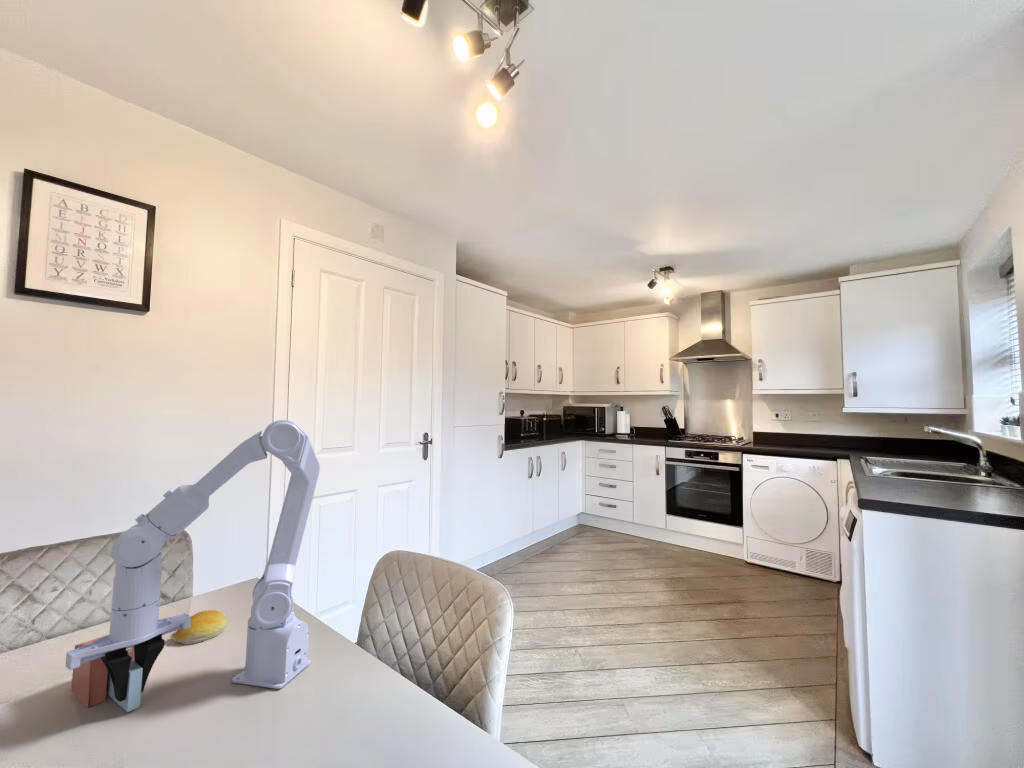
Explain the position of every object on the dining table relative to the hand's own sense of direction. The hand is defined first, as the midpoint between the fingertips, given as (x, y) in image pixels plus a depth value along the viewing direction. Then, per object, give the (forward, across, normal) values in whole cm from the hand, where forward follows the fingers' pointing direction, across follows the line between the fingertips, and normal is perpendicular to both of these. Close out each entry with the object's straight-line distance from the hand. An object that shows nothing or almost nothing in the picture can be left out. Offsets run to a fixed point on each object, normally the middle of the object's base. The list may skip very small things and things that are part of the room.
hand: (129, 694), depth 65 cm
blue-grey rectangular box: (+2, 0, -5) cm, 5 cm away
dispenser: (+2, 0, -9) cm, 9 cm away
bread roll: (+2, -17, -16) cm, 24 cm away
